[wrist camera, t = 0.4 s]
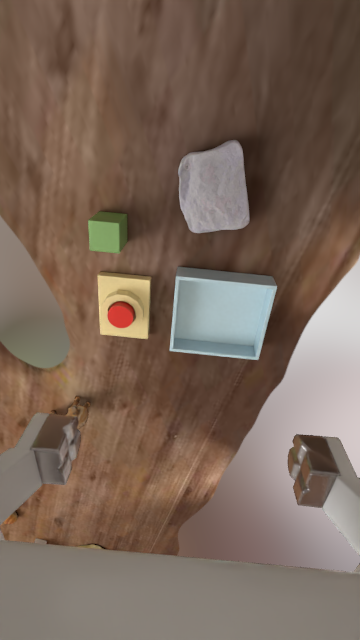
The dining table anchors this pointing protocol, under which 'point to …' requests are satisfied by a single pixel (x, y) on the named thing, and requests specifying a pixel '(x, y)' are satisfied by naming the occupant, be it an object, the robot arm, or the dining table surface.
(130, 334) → the button housing
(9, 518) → the pastry
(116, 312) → the button
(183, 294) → the basin
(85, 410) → the lion figurine
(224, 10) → the dining table surface
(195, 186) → the stone block
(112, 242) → the green block
